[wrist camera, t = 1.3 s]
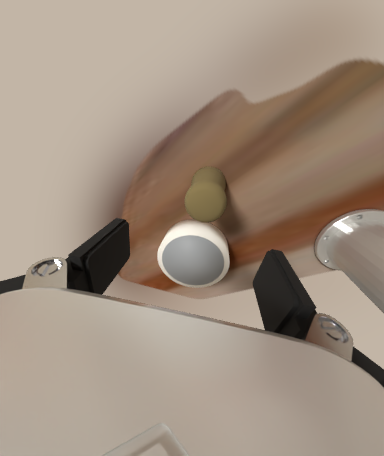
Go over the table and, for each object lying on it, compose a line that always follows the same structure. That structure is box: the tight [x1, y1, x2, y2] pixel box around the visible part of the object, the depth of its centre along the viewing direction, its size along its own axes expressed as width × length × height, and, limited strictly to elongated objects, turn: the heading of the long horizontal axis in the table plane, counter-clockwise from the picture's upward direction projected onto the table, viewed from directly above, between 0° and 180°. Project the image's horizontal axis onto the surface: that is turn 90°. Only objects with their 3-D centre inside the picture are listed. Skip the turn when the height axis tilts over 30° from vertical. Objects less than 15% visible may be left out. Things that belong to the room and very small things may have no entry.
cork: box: [185, 167, 227, 223], centre depth 23 cm, size 6×6×11 cm
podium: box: [158, 219, 230, 288], centre depth 33 cm, size 14×14×5 cm
